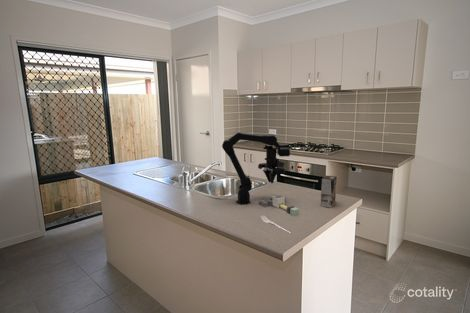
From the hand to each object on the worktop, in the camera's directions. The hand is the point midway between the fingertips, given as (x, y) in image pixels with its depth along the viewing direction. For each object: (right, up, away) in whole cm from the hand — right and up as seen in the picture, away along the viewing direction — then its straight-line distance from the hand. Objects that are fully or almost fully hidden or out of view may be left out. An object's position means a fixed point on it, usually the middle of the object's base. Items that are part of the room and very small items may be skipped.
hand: (270, 182), depth 166 cm
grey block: (+4, -13, -4) cm, 14 cm away
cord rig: (+5, -14, -7) cm, 16 cm away
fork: (-1, -18, -29) cm, 34 cm away
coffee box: (+33, -13, -2) cm, 35 cm away
